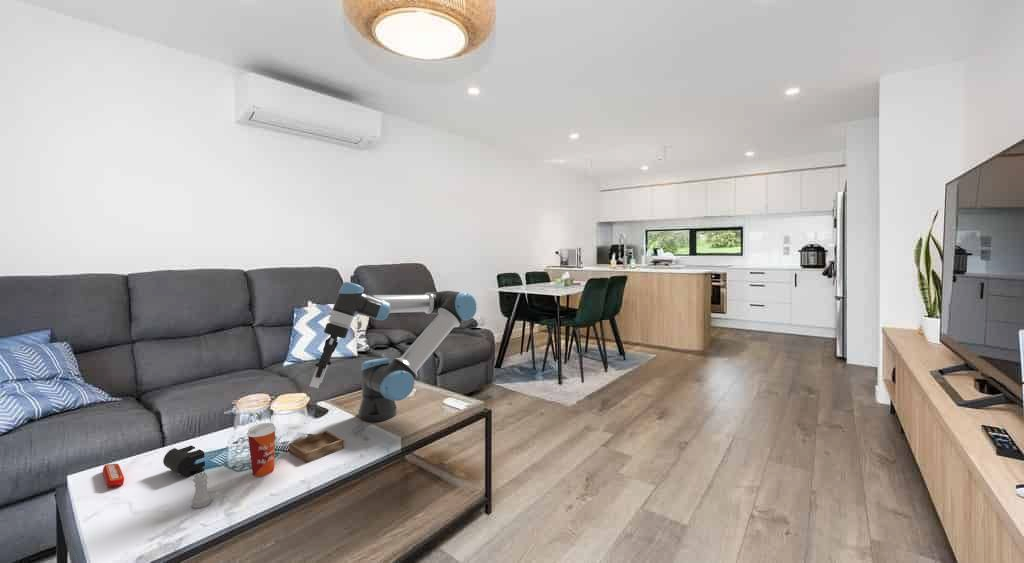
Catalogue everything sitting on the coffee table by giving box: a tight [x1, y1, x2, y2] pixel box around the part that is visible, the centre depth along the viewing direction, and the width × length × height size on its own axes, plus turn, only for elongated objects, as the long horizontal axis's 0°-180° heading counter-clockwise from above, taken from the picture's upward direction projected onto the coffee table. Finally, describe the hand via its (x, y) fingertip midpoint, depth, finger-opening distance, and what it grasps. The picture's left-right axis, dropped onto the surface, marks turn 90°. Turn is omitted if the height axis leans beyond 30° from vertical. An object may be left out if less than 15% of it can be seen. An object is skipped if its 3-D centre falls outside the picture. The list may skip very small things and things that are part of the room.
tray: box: [288, 430, 345, 464], centre depth 140 cm, size 13×12×3 cm
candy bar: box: [102, 463, 125, 488], centre depth 123 cm, size 16×4×3 cm, turn 49°
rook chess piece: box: [190, 472, 213, 509], centre depth 110 cm, size 4×4×8 cm
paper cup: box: [246, 422, 277, 478], centre depth 126 cm, size 8×8×14 cm
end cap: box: [162, 445, 206, 478], centre depth 126 cm, size 10×7×7 cm
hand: (315, 384), depth 141 cm, fingers open, 13 cm apart
